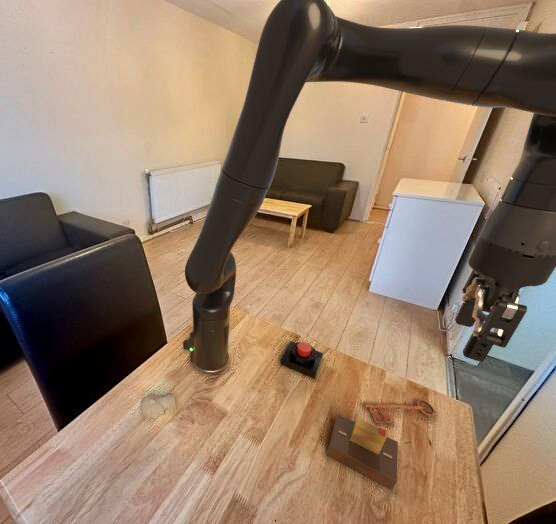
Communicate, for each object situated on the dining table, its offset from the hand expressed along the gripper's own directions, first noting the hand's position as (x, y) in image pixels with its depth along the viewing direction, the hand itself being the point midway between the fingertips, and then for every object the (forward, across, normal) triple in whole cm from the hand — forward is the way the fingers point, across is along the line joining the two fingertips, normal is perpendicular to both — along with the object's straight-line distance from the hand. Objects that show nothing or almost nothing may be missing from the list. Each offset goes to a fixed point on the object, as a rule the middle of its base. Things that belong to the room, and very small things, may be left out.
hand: (467, 339), depth 43 cm
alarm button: (+26, -13, -24) cm, 37 cm away
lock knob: (+26, +5, -7) cm, 28 cm away
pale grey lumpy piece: (+29, +19, -47) cm, 59 cm away
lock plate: (+29, +5, -8) cm, 30 cm away
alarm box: (+29, -13, -24) cm, 40 cm away
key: (+29, -10, -1) cm, 31 cm away
